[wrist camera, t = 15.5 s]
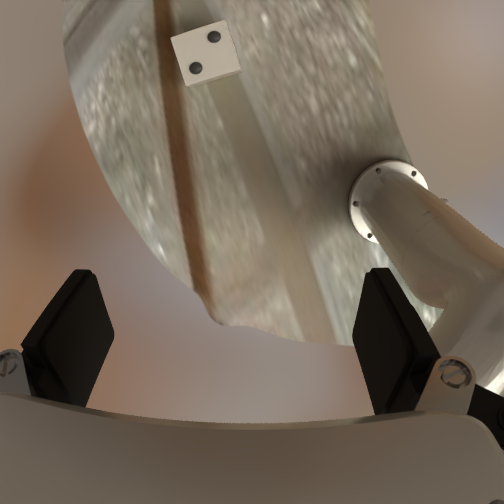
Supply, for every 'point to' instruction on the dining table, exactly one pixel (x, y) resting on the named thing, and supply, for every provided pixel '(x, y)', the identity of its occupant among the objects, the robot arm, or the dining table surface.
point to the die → (206, 54)
